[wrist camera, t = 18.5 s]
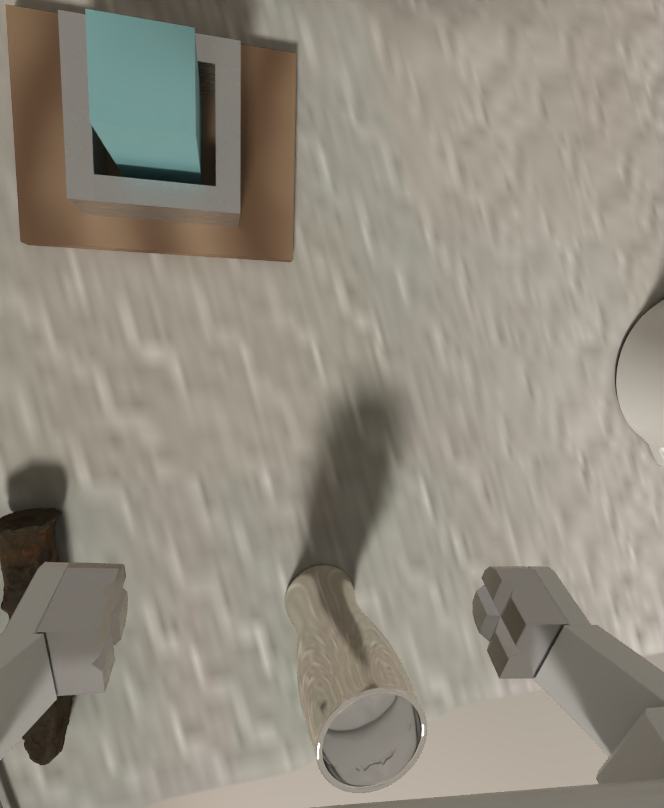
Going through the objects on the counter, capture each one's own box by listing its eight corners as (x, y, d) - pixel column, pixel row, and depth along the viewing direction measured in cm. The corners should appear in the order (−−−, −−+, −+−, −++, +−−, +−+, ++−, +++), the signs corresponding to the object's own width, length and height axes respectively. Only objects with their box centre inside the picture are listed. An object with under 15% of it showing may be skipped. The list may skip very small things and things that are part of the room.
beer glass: (279, 563, 40) (312, 696, 25) (358, 555, 41) (433, 676, 27) (279, 639, 41) (312, 809, 26) (357, 628, 42) (428, 783, 28)
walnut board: (293, 62, 34) (296, 53, 33) (290, 262, 36) (293, 259, 35) (13, 17, 30) (5, 4, 29) (27, 244, 32) (20, 241, 31)
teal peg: (201, 110, 32) (194, 27, 23) (202, 187, 33) (195, 134, 24) (123, 99, 31) (84, 8, 22) (125, 179, 32) (89, 121, 23)
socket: (238, 75, 32) (240, 40, 28) (238, 227, 34) (240, 213, 30) (78, 51, 30) (57, 9, 26) (85, 214, 31) (66, 198, 28)
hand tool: (4, 505, 34) (-28, 531, 30) (65, 502, 35) (42, 527, 31) (26, 734, 37) (-1, 790, 33) (81, 726, 38) (62, 779, 34)
